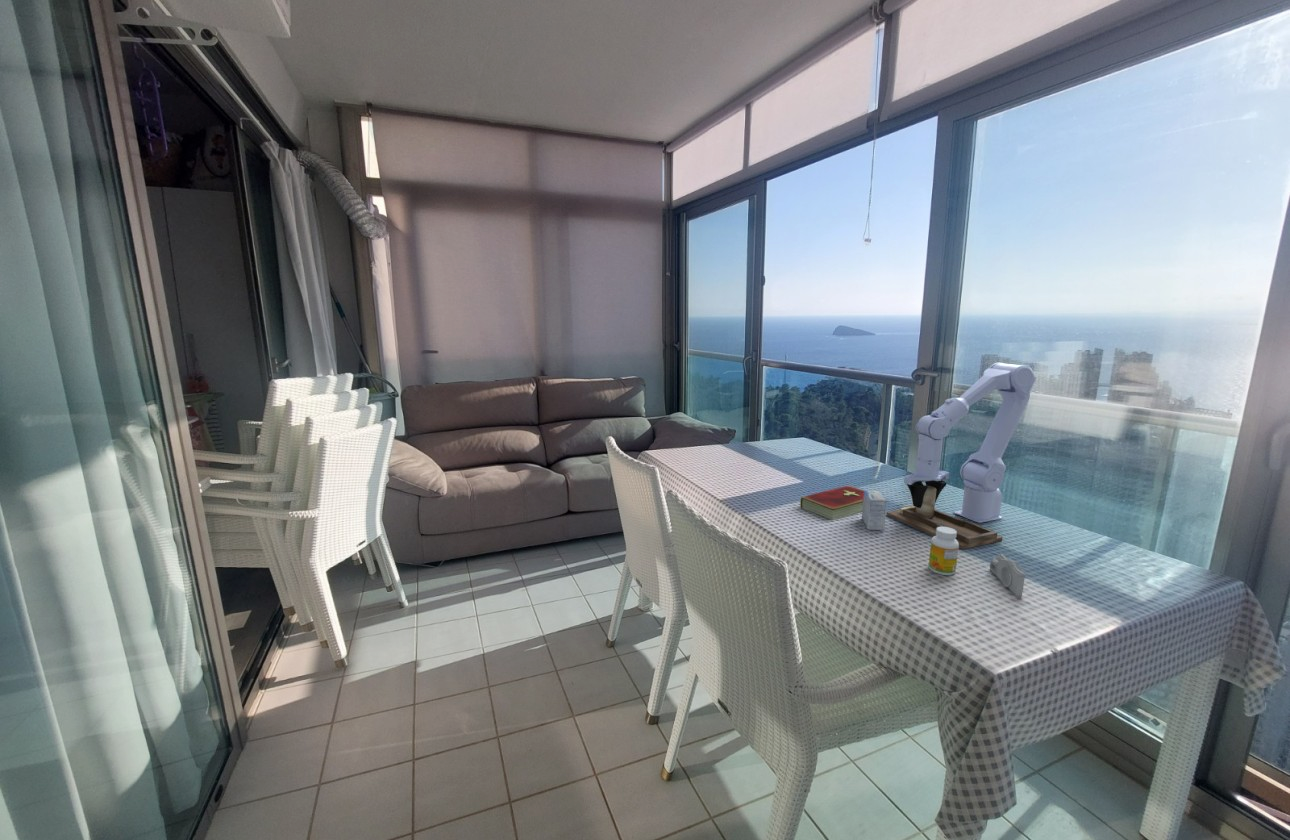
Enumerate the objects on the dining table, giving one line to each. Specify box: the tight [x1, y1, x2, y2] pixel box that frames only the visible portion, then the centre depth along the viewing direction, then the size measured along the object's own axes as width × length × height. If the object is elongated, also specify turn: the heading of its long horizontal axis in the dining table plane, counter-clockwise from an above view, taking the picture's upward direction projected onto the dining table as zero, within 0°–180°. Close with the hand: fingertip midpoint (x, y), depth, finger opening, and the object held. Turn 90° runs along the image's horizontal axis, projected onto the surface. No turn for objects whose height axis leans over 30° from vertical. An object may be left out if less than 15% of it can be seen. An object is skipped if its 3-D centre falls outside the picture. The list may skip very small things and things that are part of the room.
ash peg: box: [916, 484, 937, 518], centre depth 145 cm, size 4×4×8 cm
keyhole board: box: [886, 505, 1003, 550], centre depth 141 cm, size 14×24×2 cm, turn 20°
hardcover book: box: [799, 485, 865, 520], centre depth 156 cm, size 12×21×4 cm, turn 120°
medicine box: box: [861, 490, 888, 531], centre depth 142 cm, size 8×4×9 cm, turn 168°
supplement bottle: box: [928, 527, 960, 576], centre depth 117 cm, size 5×5×10 cm
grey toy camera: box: [989, 553, 1029, 597], centre depth 111 cm, size 12×2×6 cm, turn 170°
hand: (923, 505), depth 146 cm, fingers closed on ash peg, 4 cm apart
